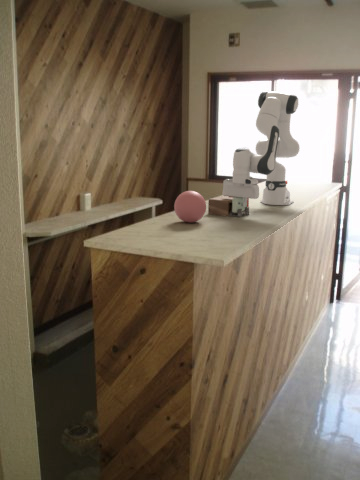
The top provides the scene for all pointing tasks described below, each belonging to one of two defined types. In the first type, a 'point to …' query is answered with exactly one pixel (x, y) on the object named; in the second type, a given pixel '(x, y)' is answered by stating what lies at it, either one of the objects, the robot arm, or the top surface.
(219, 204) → the cabinet
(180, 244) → the top surface
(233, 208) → the door
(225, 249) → the top surface
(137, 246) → the top surface
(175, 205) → the balloon
